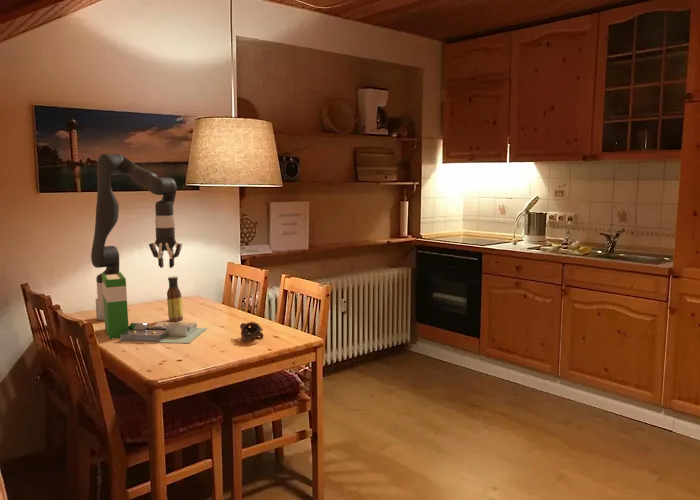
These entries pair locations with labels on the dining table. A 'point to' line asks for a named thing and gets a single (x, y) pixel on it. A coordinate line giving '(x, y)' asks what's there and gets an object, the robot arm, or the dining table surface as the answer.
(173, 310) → the sauce bottle
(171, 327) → the pale grey flat block
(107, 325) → the hardback book
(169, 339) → the mat
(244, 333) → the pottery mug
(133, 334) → the grey stepped block
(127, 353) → the dining table surface
